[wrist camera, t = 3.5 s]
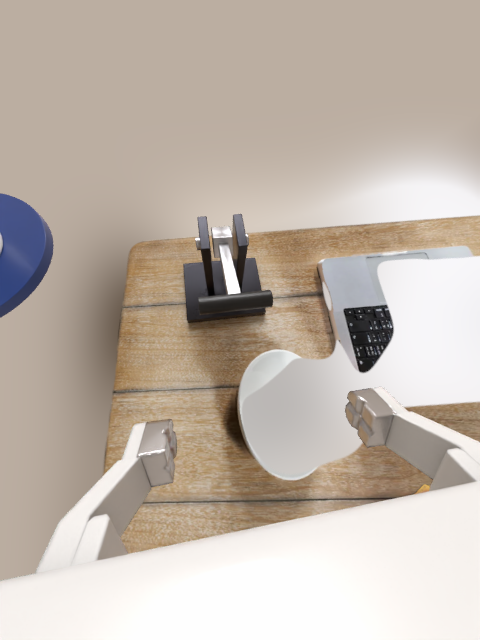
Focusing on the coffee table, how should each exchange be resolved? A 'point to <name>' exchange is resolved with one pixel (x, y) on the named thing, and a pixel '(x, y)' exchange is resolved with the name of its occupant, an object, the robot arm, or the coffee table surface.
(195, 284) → the bracket
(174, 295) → the coffee table surface
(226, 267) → the lever
